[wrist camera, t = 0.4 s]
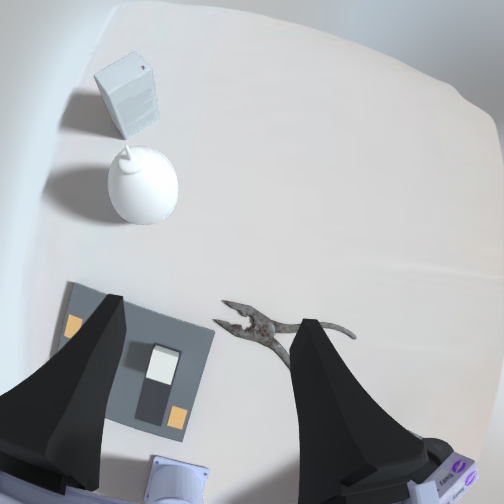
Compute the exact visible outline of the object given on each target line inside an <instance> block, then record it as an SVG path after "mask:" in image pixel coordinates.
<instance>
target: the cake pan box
mask: <svg viewBox="0 0 504 504" xmlns="http://www.w3.org/2000/svg"><path fill="white" fill-rule="evenodd" d="M408 431H409V430H408ZM409 432H410V433H412V434H413V435H415V436H416V437H418V438H419V439H421V440H422V441H423V442H424V444H425V448H426V451H427V454H428V458H429V461H428V462H427V463H426V464H425V465H424V466H422V467H421V468H419V469H418V470H416V471H414V472H412V473H411V474H409V477H410V482H408V483H407V486H408V488H410V487H412V486H415V485H419V484H422V483H425V482H428V481H431V480H434V481H435V484H436V488H437V492H438V496H439V500H440V504H454V503H455V502H456V501H457V500H458V499H459V498H460V497H461V496H462V495H463V494H464V493H465V492H466V491H467V490H468V489H469V488H470V486H472V485H473V483H474V482H476V480H477V479H478V478H479V477H480V473H479V471H478V468H477V465H476V462H475V461H474V460H472V459H470V458H467V457H465V456H463V455H460V454H458V453H456V452H454V450H453V448H452V447H451V446H450V445H449V444H448V443H447V442H445V441H443V440H440V439H436V438H423V437H421V436H419V435H417V434H415V433H413V432H411V431H409Z"/></svg>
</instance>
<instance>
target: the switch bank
mask: <svg viewBox="0 0 504 504" xmlns="http://www.w3.org/2000/svg"><path fill="white" fill-rule="evenodd" d="M106 295H107V294H104V293H102V292H99V291H97V290H94V289H91V288H89V287H86V286H84V285H81V284H79V283H74V285H73V289H72V292H71V296H70V300H69V304H68V307H67V311H66V315H65V319H64V323H63V328H62V332H61V336H60V341H59V346H58V350H57V352H58V351H59V350H60V349H61V348H62V347H63V346H64V345H65V344H66V343H67V342H68V341H69V340H70V339H71V338H72V337H73V335H74V334H75V333H76V332H77V331H78V330H79V329H80V328H81V326H82V325H83V324H84V323H85V322H86V320H87V319H88V318H89V317H90V316H91V314H92V313H93V312H94V311H95V309H96V308H97V307H98V306H99V304H100V303H101V302H102V301H103V299H104V298H105V297H106ZM124 310H125V319H126V327H127V332H126V337H125V342H124V347H123V352H122V355H121V358H120V362H119V365H118V368H117V371H116V375H115V378H114V381H113V384H112V388H111V391H110V395H109V398H108V402H107V407H106V413H105V418H107V419H109V420H112V421H115V422H118V423H120V424H123V425H126V426H129V427H132V428H135V429H138V430H141V431H144V432H147V433H151V434H154V435H157V436H161V437H164V438H168V439H171V440H175V441H179V442H182V441H183V438H184V434H185V431H186V428H187V424H188V421H189V417H190V414H191V411H192V407H193V404H194V401H195V397H196V394H197V390H198V387H199V384H200V380H201V377H202V374H203V370H204V367H205V364H206V360H207V357H208V354H209V351H210V347H211V344H212V341H213V337H214V334H215V331H214V330H211V329H207V328H204V327H201V326H198V325H194V324H191V323H188V322H185V321H182V320H179V319H176V318H173V317H170V316H166V315H163V314H161V313H158V312H155V311H152V310H149V309H146V308H143V307H140V306H137V305H134V304H132V303H129V302H126V301H124ZM156 345H157V346H160V347H163V348H167V349H170V350H173V351H176V352H179V357H178V361H177V364H176V368H175V371H174V375H173V378H172V382H171V385H169V384H166V383H163V382H159V381H156V380H153V379H150V378H147V377H146V374H147V371H148V367H149V363H150V359H151V356H152V352H153V349H154V347H155V346H156Z"/></svg>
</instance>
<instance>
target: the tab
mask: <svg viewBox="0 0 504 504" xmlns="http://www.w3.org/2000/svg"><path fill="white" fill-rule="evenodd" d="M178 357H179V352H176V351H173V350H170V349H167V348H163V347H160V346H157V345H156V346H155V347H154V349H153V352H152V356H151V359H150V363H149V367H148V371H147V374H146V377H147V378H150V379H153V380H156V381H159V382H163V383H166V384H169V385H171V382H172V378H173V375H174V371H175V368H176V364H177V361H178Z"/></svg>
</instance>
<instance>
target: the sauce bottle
mask: <svg viewBox="0 0 504 504" xmlns="http://www.w3.org/2000/svg"><path fill="white" fill-rule="evenodd" d="M108 192H109V197H110V200H111V202H112V205H113V207H114V208H115V210H116V211H117V213H118V214H119V215H120V216H121V217H122V218H123V219H125V220H127V221H128V222H130V223H133V224H137V225H150V224H154V223H157V222H160V221H162V220H163V219H165V218H166V217H167V216H168V215H169V214H170V213H171V212H172V211H173V209H174V207H175V205H176V202H177V197H178V181H177V177H176V173H175V171H174V169H173V166H172V165H171V163H170V162H169V160H168V159H167V158H166V157H165V156H164V155H163V154H162V153H161V152H159V151H157V150H155V149H153V148H150V147H146V146H132V147H128V146H127V145H126V146H125V149H124V150H122V151H121V152H120V153H119V154H118V155H117V156H116V157H115V159H114V160H113V162H112V164H111V167H110V169H109V174H108Z"/></svg>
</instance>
